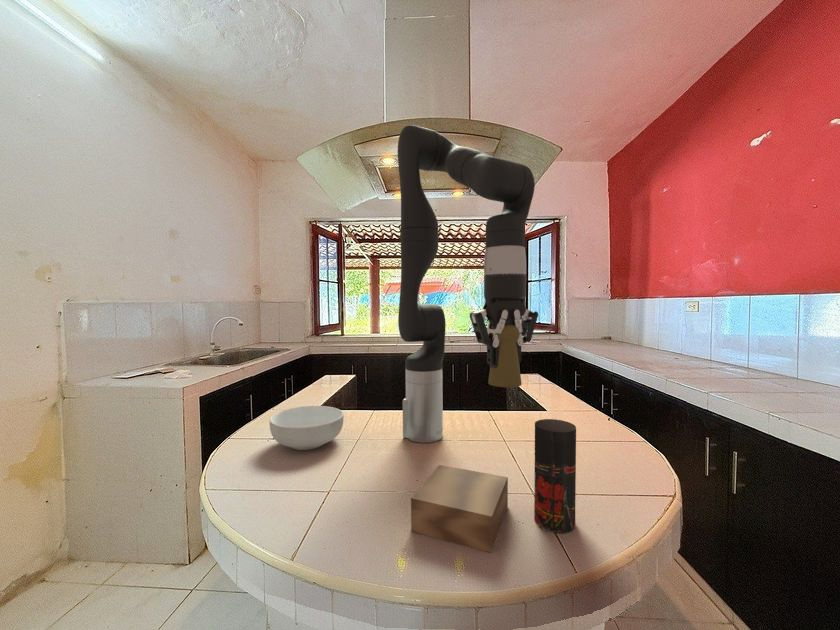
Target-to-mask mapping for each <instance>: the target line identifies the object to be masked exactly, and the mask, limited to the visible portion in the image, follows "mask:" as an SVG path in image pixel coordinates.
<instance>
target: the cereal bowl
mask: <svg viewBox="0 0 840 630" xmlns="http://www.w3.org/2000/svg"><path fill="white" fill-rule="evenodd" d="M344 414H345V413H344V412H343V411H342V410H341V409H339V408H336V407H333V406H325V405H305V406H297V407H291V408H287V409H283V410H281V411H278V412H276V413H275V414H272V415H271V417H270V418H269V431H270V434H271V436H272V438H273V440H275V441H276V442H277V443H278V444H280V445H282V446H285V447H289V448H291V449H293V450H298V451H307V450H308V451H309V450H314V449H317V448H318V449H319V448H320V447H322V446H323V445H325V444H327V443H329V442H331V441H333V440H334V439H336V437H338V436H339V434H340V433H341V431H342V428H343V425H344V419H345V417H344Z"/></svg>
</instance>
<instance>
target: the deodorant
mask: <svg viewBox="0 0 840 630" xmlns="http://www.w3.org/2000/svg"><path fill="white" fill-rule="evenodd" d="M576 480H577V427H576V425H575V424H574V423H572V422H568V421H565V420H562V419H557V418H556V419H555V418H544V419H539V420H536V421H534V498H533V499H534V505H533V508H534V519H533V520H534V522H535V524H536V525H537V526H538V527H539V528H542V529H543V530H545V531H547V532H550V533H554V534H562V535H563V534H568V533H571V532H573V531H574V530H575V529H576V503H577V502H576V495H577V494H576V491H577V490H576V487H577V486H576V485H577V483H576Z"/></svg>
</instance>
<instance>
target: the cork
mask: <svg viewBox="0 0 840 630" xmlns="http://www.w3.org/2000/svg"><path fill="white" fill-rule="evenodd" d="M492 329H494V330H495V329H496V327H492ZM519 336H520V333H519V329H518V328H517V327H516V326H514V325H504V328H503V330H502V332H501V334H500V335H498V339H499V345H498V347H497V348H499V358H498V365H497V367H496V368H492V367H490V366H489V367H490V368H489V375H488V383H487V384H488V385H490V386H492V387H499V388H516V387H517V388H518V387H521V386H522V384H523V383H522V376H521V369H520V363H519V360H518V352H517V344H516V342H517V341H518V339H519ZM491 337H492V339H493V333H491Z"/></svg>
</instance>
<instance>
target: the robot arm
mask: <svg viewBox="0 0 840 630" xmlns="http://www.w3.org/2000/svg"><path fill="white" fill-rule="evenodd" d="M397 163H398V164H397V165H398V175H399V177H398V179H399V186H400V289H399V290H400V291H399V304H398V318H397V319H398V320H397V321H398V323H397V324H398V331H399V336H400V338H401V340H403V341H404V342H407V343H413V342H423V344H422V346H421V347H420V348H419V349H418V350H417V351H415V352H414V353H411V354H410V355H408V356H406V358H405V361H404V362H405V364H404V365H405V366H404V367H405V398H403V399H402V438H403V439H404V438H405V439H407V440H409V441H411V442H414V443H423V444H424V443H426V444H427V443H433V442H438V441H440V440H441V439H443V436H444V435H443V431H444V427H443V426H444V424H443V421H444V418H443V417H444V415H443V406H444V405H443V399H444V398H443V362H444V358H445V349H446V348H445V347H446V346H445V344H446V343H445V342H446V316H445V311H444V310H443V308H442V307H441V306H440V304H437V303H436V304H435V303H420V304H419V295H420V287H421V285H422V284H421V283H422V281H423V279H424V277H425V275H426V274H427V272H428V271H429V268H430V267H431V266H432V264H433V262H434V260H435V258H436V256H437V254H438V250H439V222H438V218H437V216H436V214H435V212H434V209H433V207H432V206H431V203H430V202H429V200H428V198H427V196H426V193H425V192H424V189H423V186H422V182H421V175H420V174H421V173H420V171H425V172H432V171H433V172H444V173H447V174H448V176H449V177H450V178H451V179H452V180H453V181H455V182H456V183H458V184H460V185H462V186H465V187H466V188H469V189H471V190H472V191H473V192H474V193H475V194H476V195H477V196H479V197H481V198H484V199H486V200H489V201H494V202H495V201H496V202H501V203H503V206H502V210H501V213H498V214H497V213H496V214H493V215H491V216H490V217H488V218H487V220H486V222H485V223H486V224H485V253H484V261H483V298H484V305H483V308H482V309H480V310H478V311H475V312H474V311H472V312H470V313H469V318H470V319H469V320H470V321H471V326H472V328H473V332H474V334H475V338H476V342H478V344H482V345H485V346H486V362H487V364H488V365H489V367H492V368H496V367H497V365H498V358H499V348H497V347H498V345H499V339H498V335H500V334H501V332H502V330H503V328H504V325H514V326H516V327H517V328H518V329H519V333H520V336H519V339H518V341H517V342H516V344H517V352H518V360H519V364H520V363H521V362H522V346H523V345H524V344H525V343H530V342H531V341H532V337H533V334H534V331H535V327H536V324H537V321H538V317H539V313H538V312H539V311H534V310H530V309H528V308H527V307H526V304H525V298H526V297H527V255H526V247H525V246H526V223H527V219H528V216H529V212H530V208H531V205H532V201H533V197H534V194H535V186H536V184H535V177H534V174H533V172H532V169H531V168H530V167H529V166H528V165H526V164H524V163H523V164H522V163H519V162H515V161H511V160H507V159H504V158H500V157H495V156H491V154H488V153H486V152H484V151H481V150H477V149H475V148H472V147H468V146H460V145H458V144H456V143H454V142H452V141H451V140H450V139H448V138H447V137H446V136H444V135H443V134H441V133H440V132H439V131H437V130H434V129H429V128H426V127H422V126H418V125H415V124H407V125H405V126H403V128H402V130H401V131H400V134H399V136H398V141H397ZM486 318H487V319H486ZM486 320H487V321H488V324H487V325H486V323H485V322H486ZM521 320H522V322H521ZM492 327H496V329H495V330H494V329H492ZM491 333H493V339H492V337H491Z"/></svg>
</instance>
